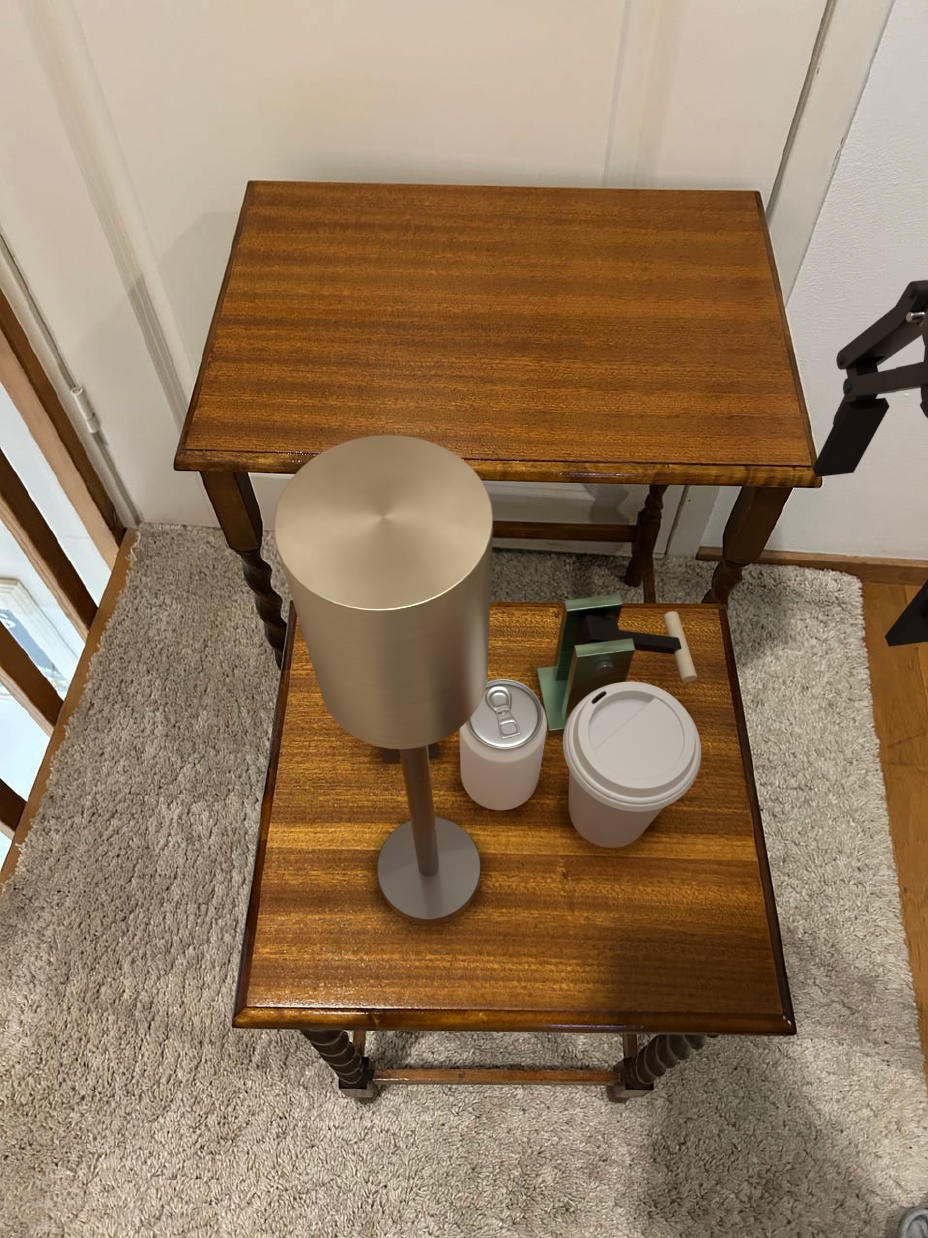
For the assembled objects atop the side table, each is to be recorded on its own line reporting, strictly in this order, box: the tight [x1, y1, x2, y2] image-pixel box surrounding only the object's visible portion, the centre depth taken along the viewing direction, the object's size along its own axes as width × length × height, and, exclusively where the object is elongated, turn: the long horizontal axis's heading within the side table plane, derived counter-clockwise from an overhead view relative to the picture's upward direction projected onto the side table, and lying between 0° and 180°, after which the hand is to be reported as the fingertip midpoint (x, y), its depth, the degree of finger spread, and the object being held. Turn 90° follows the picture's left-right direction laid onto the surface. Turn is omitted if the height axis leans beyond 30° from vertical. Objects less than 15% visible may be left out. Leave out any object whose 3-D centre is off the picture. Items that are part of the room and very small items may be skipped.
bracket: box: [535, 593, 636, 737], centre depth 76 cm, size 7×6×13 cm
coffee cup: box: [562, 681, 702, 849], centre depth 70 cm, size 10×10×15 cm
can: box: [459, 678, 547, 811], centre depth 73 cm, size 6×6×12 cm
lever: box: [571, 610, 698, 683], centre depth 73 cm, size 10×6×2 cm, turn 98°
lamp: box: [273, 434, 494, 927], centre depth 54 cm, size 8×8×46 cm
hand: (867, 550), depth 62 cm, fingers open, 13 cm apart
